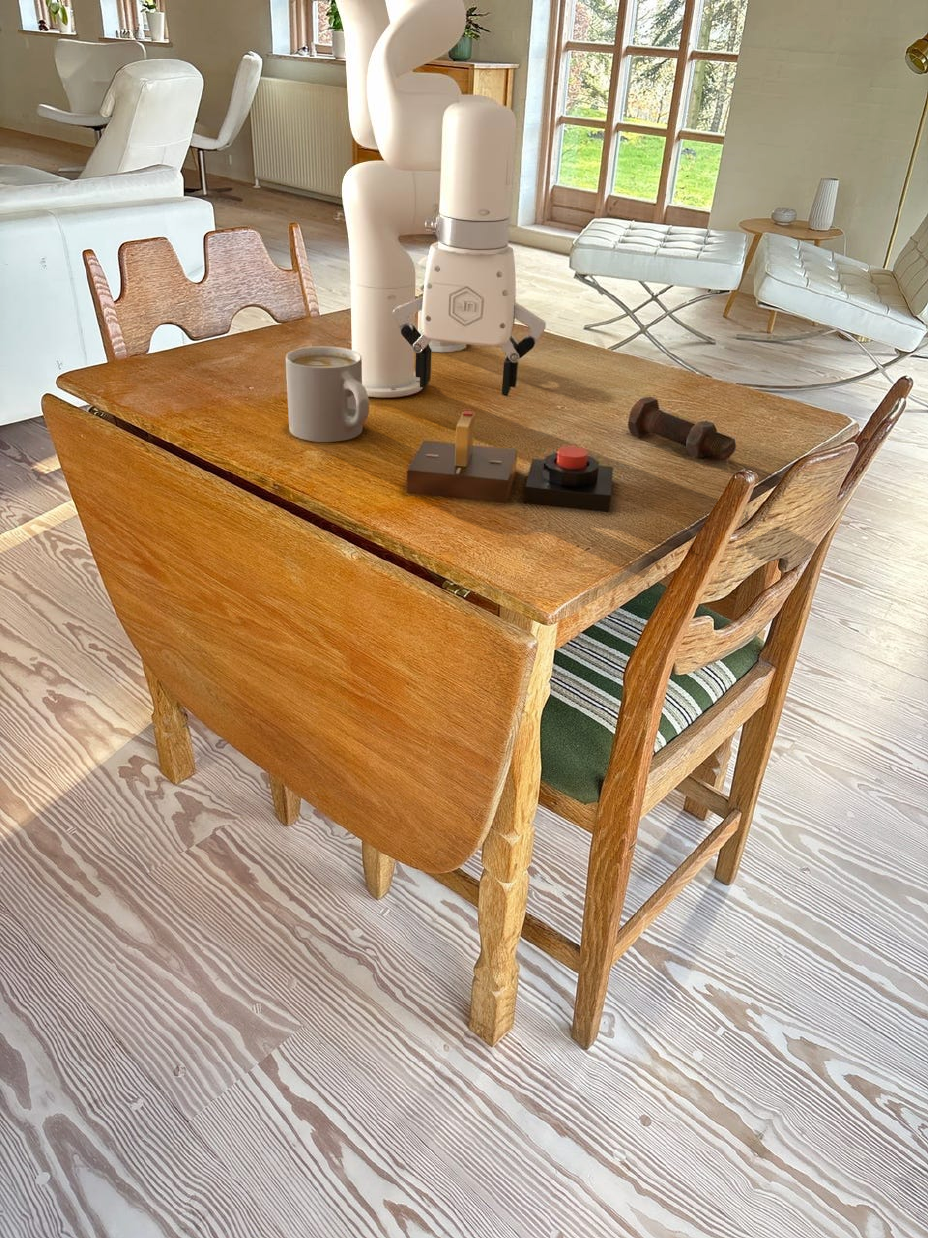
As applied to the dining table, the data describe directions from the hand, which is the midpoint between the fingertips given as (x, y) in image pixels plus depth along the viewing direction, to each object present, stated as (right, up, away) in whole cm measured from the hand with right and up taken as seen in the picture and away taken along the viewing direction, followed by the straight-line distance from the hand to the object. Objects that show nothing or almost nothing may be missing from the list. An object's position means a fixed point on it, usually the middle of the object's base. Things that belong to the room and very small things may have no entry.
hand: (465, 387), depth 112 cm
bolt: (+29, -4, +19) cm, 35 cm away
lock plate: (0, -10, +6) cm, 12 cm away
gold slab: (0, -8, +4) cm, 9 cm away
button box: (+12, -12, +4) cm, 18 cm away
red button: (+13, -9, +2) cm, 16 cm away
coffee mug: (-18, -2, +18) cm, 26 cm away
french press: (-4, +22, +58) cm, 62 cm away
